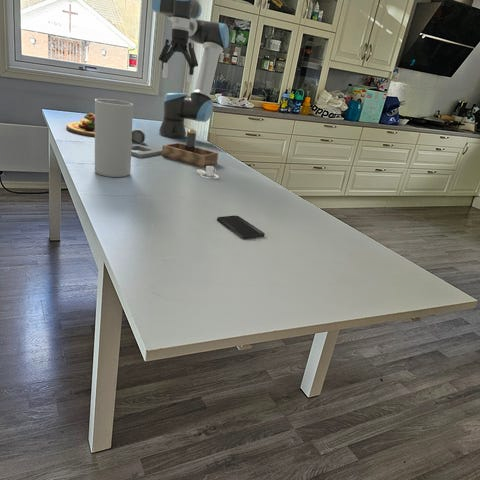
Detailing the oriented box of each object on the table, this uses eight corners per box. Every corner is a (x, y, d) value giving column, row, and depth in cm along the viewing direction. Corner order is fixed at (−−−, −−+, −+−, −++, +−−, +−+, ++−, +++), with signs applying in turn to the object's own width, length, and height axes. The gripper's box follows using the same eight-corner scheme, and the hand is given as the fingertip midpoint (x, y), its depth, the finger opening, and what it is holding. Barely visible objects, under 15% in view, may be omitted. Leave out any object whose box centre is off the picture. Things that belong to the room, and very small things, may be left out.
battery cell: (188, 156, 187) (190, 127, 181) (195, 158, 185) (198, 129, 180) (182, 157, 183) (185, 128, 178) (190, 159, 182) (193, 130, 177)
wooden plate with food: (64, 124, 220) (64, 108, 216) (124, 128, 234) (125, 113, 230) (68, 136, 194) (68, 119, 191) (136, 140, 208) (137, 124, 205)
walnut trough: (161, 156, 184) (162, 145, 182) (177, 153, 194) (178, 142, 192) (202, 167, 175) (204, 156, 173) (217, 163, 185) (218, 152, 183)
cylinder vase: (137, 176, 150) (140, 105, 140) (106, 179, 141) (107, 104, 131) (118, 167, 157) (120, 99, 147) (88, 169, 148) (87, 98, 138)
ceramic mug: (145, 142, 204) (145, 127, 201) (144, 146, 197) (145, 130, 194) (124, 140, 202) (124, 125, 199) (123, 144, 195) (123, 128, 192)
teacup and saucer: (193, 174, 165) (194, 164, 164) (208, 172, 171) (209, 163, 169) (208, 180, 160) (209, 170, 158) (222, 178, 166) (223, 168, 164)
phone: (237, 215, 125) (266, 234, 114) (236, 218, 126) (265, 237, 115) (215, 217, 121) (243, 237, 110) (214, 220, 121) (242, 241, 110)
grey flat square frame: (136, 146, 193) (136, 143, 192) (162, 153, 187) (162, 150, 187) (114, 150, 181) (114, 146, 180) (140, 158, 175) (140, 154, 174)
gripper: (152, 25, 182) (150, 75, 191) (199, 31, 173) (194, 84, 181) (163, 27, 189) (160, 76, 197) (208, 33, 179) (203, 84, 188)
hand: (176, 80), depth 189 cm, fingers open, 13 cm apart
